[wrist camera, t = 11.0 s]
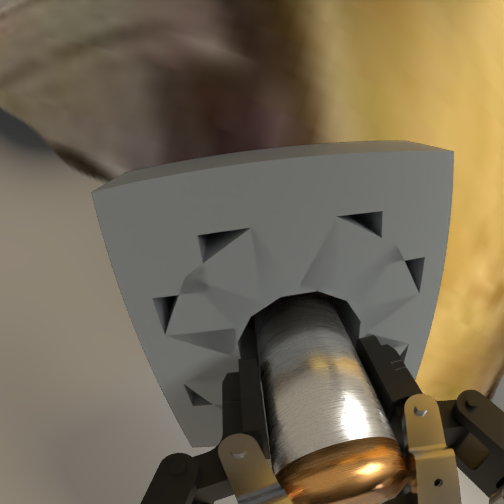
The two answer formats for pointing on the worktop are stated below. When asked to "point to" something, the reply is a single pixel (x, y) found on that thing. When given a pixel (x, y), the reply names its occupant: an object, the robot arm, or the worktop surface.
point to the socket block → (274, 254)
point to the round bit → (322, 407)
